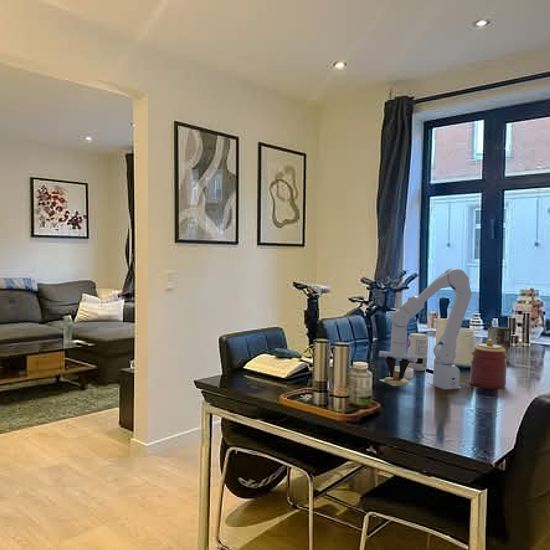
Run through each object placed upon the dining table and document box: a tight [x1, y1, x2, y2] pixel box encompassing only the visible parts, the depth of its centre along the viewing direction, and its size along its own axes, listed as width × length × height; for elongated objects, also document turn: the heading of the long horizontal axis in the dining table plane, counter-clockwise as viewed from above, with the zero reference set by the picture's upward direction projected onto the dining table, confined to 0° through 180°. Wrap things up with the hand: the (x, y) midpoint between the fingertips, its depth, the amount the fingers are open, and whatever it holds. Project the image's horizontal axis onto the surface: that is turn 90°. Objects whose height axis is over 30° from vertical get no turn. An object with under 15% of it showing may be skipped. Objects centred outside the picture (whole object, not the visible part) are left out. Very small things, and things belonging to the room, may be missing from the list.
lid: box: [383, 371, 410, 386], centre depth 199 cm, size 9×9×4 cm
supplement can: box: [406, 332, 429, 372], centre depth 225 cm, size 8×8×15 cm
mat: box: [379, 378, 416, 387], centre depth 199 cm, size 10×10×1 cm
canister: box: [469, 339, 508, 390], centre depth 202 cm, size 13×13×18 cm
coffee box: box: [486, 325, 512, 363], centre depth 252 cm, size 9×6×16 cm
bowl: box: [388, 365, 415, 380], centre depth 209 cm, size 9×9×4 cm
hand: (396, 378), depth 199 cm, fingers closed on lid, 3 cm apart
